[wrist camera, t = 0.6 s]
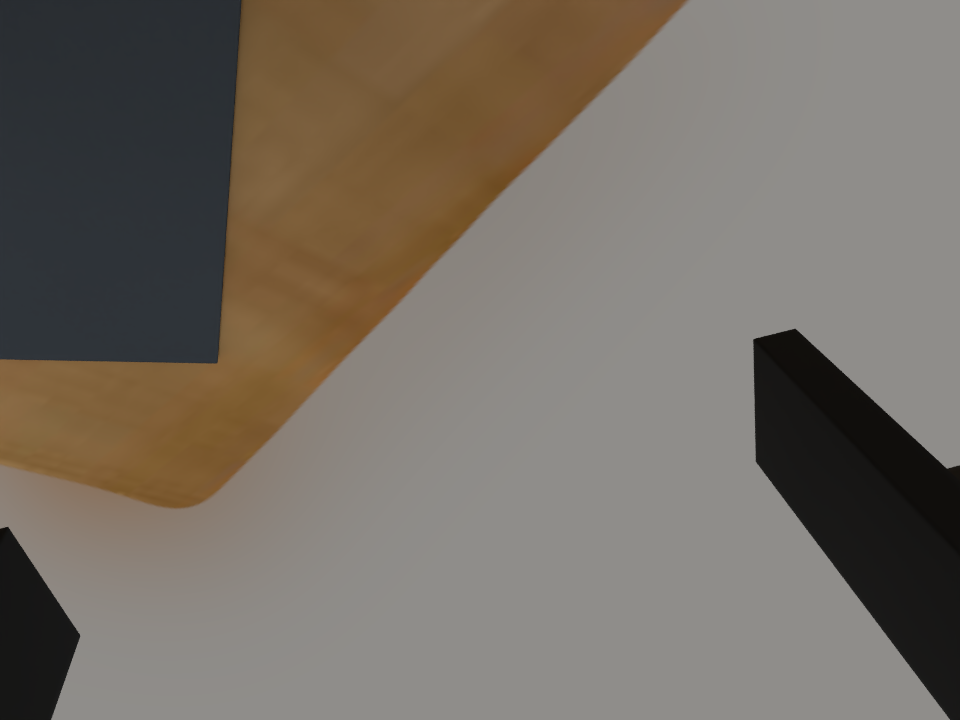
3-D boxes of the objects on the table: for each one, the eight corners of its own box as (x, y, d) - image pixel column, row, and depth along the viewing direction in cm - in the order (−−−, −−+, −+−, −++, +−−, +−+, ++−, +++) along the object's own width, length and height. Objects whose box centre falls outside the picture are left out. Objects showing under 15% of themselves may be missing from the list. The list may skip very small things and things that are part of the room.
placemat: (-331, -191, 25) (-339, -188, 24) (245, -74, 31) (246, -70, 30) (-159, 349, 38) (-162, 356, 38) (217, 357, 44) (217, 363, 44)
